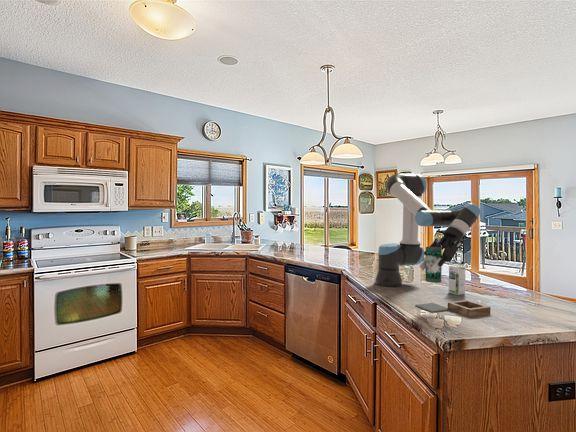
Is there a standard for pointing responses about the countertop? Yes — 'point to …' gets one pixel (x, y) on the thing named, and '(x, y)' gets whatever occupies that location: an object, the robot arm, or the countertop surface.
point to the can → (431, 259)
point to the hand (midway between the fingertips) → (427, 269)
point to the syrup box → (456, 279)
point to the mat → (432, 307)
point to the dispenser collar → (469, 308)
